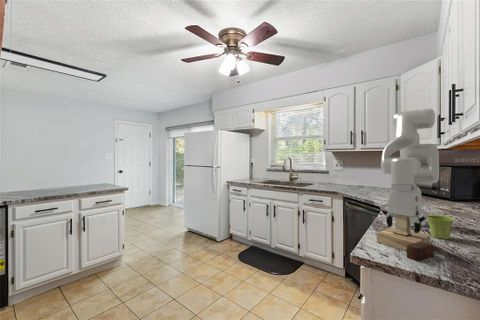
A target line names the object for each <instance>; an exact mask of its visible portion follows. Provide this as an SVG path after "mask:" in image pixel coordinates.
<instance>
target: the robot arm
mask: <svg viewBox="0 0 480 320" xmlns="http://www.w3.org/2000/svg"><path fill="white" fill-rule="evenodd" d="M392 123H393V126H394V128H395V129H394V139H393V140H391V141H390V142H389V143H387V145H386V146H385V147H384V148H383V150H382V152H381V160H380V170H381V172H383V173H384V174H385V175H386V174H387V175H390V177H391V180H390V182H391V183H390V184H391V185H390V186H391V189H390V190H389V192H388V197H387V203H384V204H381V205H379V208H380V210H381V213H382V214H383V215H384V217H385V218H386V225H387V228H391V227H393V220H394V219H393V215H395V214H396V215H402V216H407V217H410V223H411V227H413V228H414V230H413V232H415V233H420V232H421V230H422V227H425V226H426V225H427V224H426V222H425V220H427V217H428V215H430V213H429V212H428V211H426V210H425V209H424V208H422V190H421V189H420V186H419V187H418V185H416V184H437V182H439V180H440V153H439V149H438V146H437V145H436V144H433V143H420V134H419V133H418V130H421V129H431V128H433V127H434V125H435V123H436V112H435V111H434V109H432V108H425V109H424V108H423V109H415V110H408V111H402V112H401V111H400V112H397V113H395V114H394V115H393V116H392ZM397 151H398V152H399V154H400V155H399V156H398V157H390V156H391V155H392V154H394V153H396V152H397ZM422 163H426V164H422ZM386 208H387V209H386Z"/></svg>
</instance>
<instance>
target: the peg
mask: <svg viewBox="0 0 480 320" xmlns="http://www.w3.org/2000/svg"><path fill="white" fill-rule="evenodd" d="M394 221H395V222H394V224H395V225H394V228H395V234H396V235H400V236H405V237H409V236H411V231H412V229H411V227H412V226H411V223H410V217H407V216H402V215H396V214H394Z"/></svg>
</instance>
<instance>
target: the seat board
mask: <svg viewBox="0 0 480 320" xmlns="http://www.w3.org/2000/svg"><path fill="white" fill-rule="evenodd" d="M420 241H422V242H426V243H429V244H431V243H432V242H431V241H432V240H431V234H430V235H429V234H427V233H426V234H425V233H421V232H418V233H415V232H414V230H411V236H409V237H405V236H400V235H396V234H395V226H394V227H393V226H391V227H387V228H386V229H383V230H380V231H378V232H376V243H377V244H381V245H384V246H387V247H393V248H396V249H399V250H402V251H406V248H407V245H409V244H413V243H416V242H420ZM431 245H432V244H431Z"/></svg>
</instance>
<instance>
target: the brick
mask: <svg viewBox="0 0 480 320" xmlns="http://www.w3.org/2000/svg"><path fill="white" fill-rule="evenodd" d="M405 251H406V252H405V253H406V258H407V259H410V260H412V261H415V262H420V261H423V260H426V259H429V258H431V257H433V256H434V253H435V246H434V245H433V244H429V243H426V242H422V241H420V242H416V243H413V244H409V245H407V248H406V250H405Z"/></svg>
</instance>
